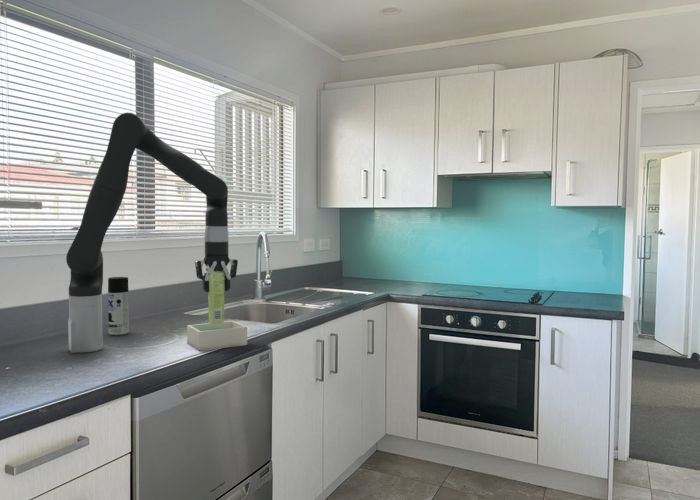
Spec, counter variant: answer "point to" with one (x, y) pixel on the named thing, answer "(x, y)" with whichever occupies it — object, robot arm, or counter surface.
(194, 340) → the box
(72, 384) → the counter surface
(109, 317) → the spray can
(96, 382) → the counter surface
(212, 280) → the tube
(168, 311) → the counter surface
